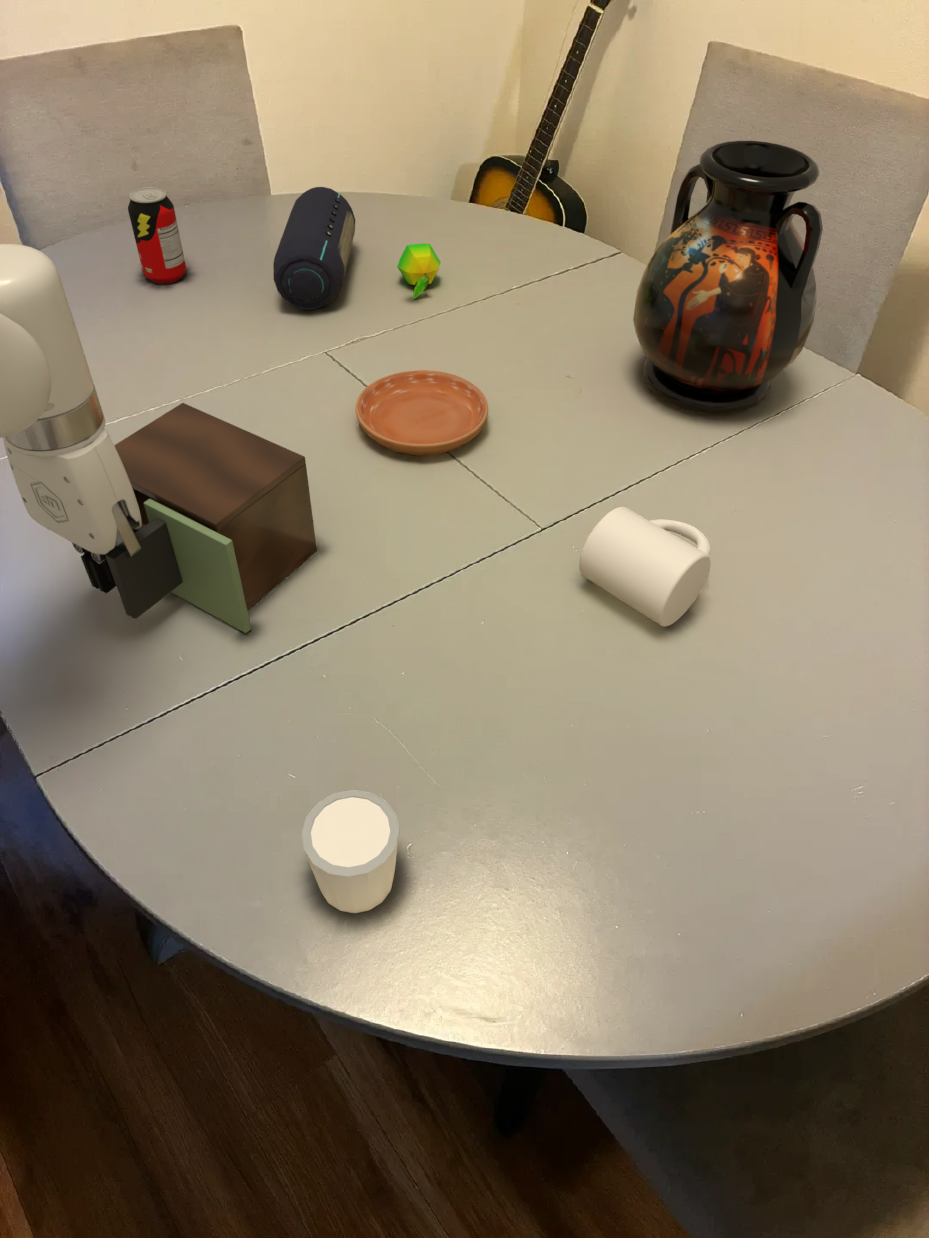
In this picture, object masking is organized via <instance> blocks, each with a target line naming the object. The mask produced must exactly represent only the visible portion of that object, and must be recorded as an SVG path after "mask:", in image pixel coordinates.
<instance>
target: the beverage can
mask: <svg viewBox="0 0 929 1238" xmlns="http://www.w3.org/2000/svg"><path fill="white" fill-rule="evenodd" d="M128 197H129V203H128V205H127V212H128V215H129V216H128V217H129V221H130V223H131V229H132V232H133V233H132V234H133V236H134V237H133V238H134V240H135V245H136V249H137V253H138V257H139V261H140V266H141V269H142V273H143V275H144V276H145V277H146V278H147V279H149V280H150V281H152V282H153V283H156V284H161V285H162V284H163V285H165V284H171V283H175V282H178V281H179V280H181V279H182V277H183V276H184V275H185V274H186V271H187V265H186V260H185V255H184V250H183V245H182V240H181V235H180V230H179V226H178V219H177V216H176V210H175V207H174V206H175V205H174V203H173V202H172V200H171V199H170V198H169V197H168V194H167V191H166V190H165V189H163V188H160V187H155V186H154V187H153V186H151V187H148V186H147V187H142V188H141V187H139V188H137V189H134V190H132V191H131V192H130V193H129V194H128Z"/></svg>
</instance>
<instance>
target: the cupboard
mask: <svg viewBox="0 0 929 1238" xmlns="http://www.w3.org/2000/svg"><path fill="white" fill-rule="evenodd" d="M114 446H115V448H116V450H117V452H118V454H119V456H120V459H121V461H122V463H123V466H124V468H125V470H126V473H127V476H128V478H129V481H130V483H131V486H132V488H133V491H134V494H135V497H136V500H137V503H138V506H139V510H140V514H141V520H142V526H141V528H143V527H144V526H145V525H147V524H148V523H149V520H148V516H147V513H146V510H145V507H144V502H145V501H147V500H148V499H152V500H153V501H155V502H157V503H159V504H161V505H163V506H165V507H167V508H169V509H171V510H173V511H175V512H177V513H179V514H181V515H183V516H185V517H187V518H189V519H191V520H193V521H195V522H197V523H199V524H201V525H203V526H205V527H207V528H209V529H211V530H213V531H215V532H217V533H219V534H221V535H223V536H225V537H227V538H229V539H231V540H232V542H233V547H234V552H235V556H236V561H237V565H238V570H239V575H240V579H241V584H242V588H243V593H244V598H245V602H246V607H247V611H249V610H251V608H253V607H254V606H255V605H257V603H259V602H260V601H261V600H262V599H263V598H264V597H265V596H266V595H268V594H269V593H270V592H271V591H272V590H274V589H275V588H276V587H277V586H278V585H280V584H281V582H283V581H284V580H285V579H287V577H288V576H290V575H291V574H293V572H294V571H295V570H297V569H298V568H299V567H300V566H301V565H302V564H304V563H305V562H306V561H307V560H309V558H311V557H312V556H313V555H314V554H315V553H317V551H318V547H317V540H316V532H315V524H314V516H313V509H312V501H311V493H310V485H309V484H310V483H309V477H308V469H307V461H306V457H305V456H304V455H302V454H300V453H297V452H295V451H293V450H291V449H289V448H286V447H284V446H282V445H279V444H277V443H275V442H273V441H270V440H268V439H267V438H264V437H261V436H259V435H257V434H255V433H252V432H251V431H248V430H246V429H244V428H241V427H239V426H236V425H234V424H232V423H230V422H227V421H225V420H224V419H221V418H218V417H216V416H214V415H212V414H210V413H207V412H205V411H202V410H200V409H198V408H196V407H194V406H192V405H189V404H187V403H185V402H181V403H180V404H178V405H177V406H175V407H174V408H172V409H170V410H168V411H167V412H165V413H164V414H162V415H160V416H159V417H157V418H156V419H154V420H152V421H151V422H149V423H147V424H146V425H144V426H143V427H141V428H139V429H138V430H136V431H134V432H133V433H131V434H130V435H127V437H125V438H123V439H122V440H120V441H118V442H117V443H116V444H114ZM132 530H133V532H134V533H136V532H137V531H138V530H135V529H132Z"/></svg>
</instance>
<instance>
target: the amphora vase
mask: <svg viewBox="0 0 929 1238" xmlns="http://www.w3.org/2000/svg"><path fill="white" fill-rule="evenodd" d="M819 176H820V169H819V165H818V164H817V162H816V161H815V160H814V159H813V158H812V157H811V156H809V155H808V154H806V153H805V152H803V151H800V150H798V149H796V148H793V147H790V146H787V145H783V144H779V143H774V142H768V141H761V140H730V141H725V142H724V141H723V142H720V143H716V144H714V145H712V146H710V147H708V148H706V149H705V150H704V151H703V152H702V153H701V155H700V156H699V163H698V164H695V165H693V166H692V167H691V168H689V170H688V171H687V173H686V174H685V175H684V176H683V178H682V179H681V183H680V186H679V189H678V192H677V196H676V202H675V207H674V212H673V217H672V223H671V228H670V232H669V233H670V234H669V236H667V238H665V240H664V241H663V242H662V243H660V245H659V247H658V248H657V249H656V250H655V252H654V253H653V254H652V256H651V257H650V260H649V262H648V263H647V265H646V267H645V269H644V271H643V273H642V276H641V279H640V282H639V285H638V288H637V290H636V296H635V303H634V311H633V318H632V321H633V326H634V331H635V335H636V337H637V340H638V342H639V345H640V347H641V349H642V352H643V353H644V355H645V356H646V359H644V361H643V367H642V376H643V379H644V381H645V384H646V385H647V387H648V388H649V389H650V390H651V391H652V393H653V394H654V395H655V396H657V397H658V398H659V399H662V400H663V401H664V402H666V403H668V404H669V405H671V406H674V407H676V408H678V409H682V410H684V411H688V412H692V413H694V414H695V413H697V414H701V415H711V416H719V415H720V416H721V415H722V416H723V415H725V416H727V415H733V414H738V413H739V414H740V413H743V412H745V411H748V410H750V409H753V408H755V407H756V406H758V405H760V404H761V403H762V402H763V401H764V400H765V399H766V398H767V395H768V393H769V391H770V389H771V386H772V385H771V380H773V379H774V378H775V377H776V376H778V375H779V374H781V372H783V371H784V370H786V369H787V368H788V367H789V366H790V365H791V364H793V362H795V360H796V359H797V358H798V356H799V355H800V354H801V353H802V351H803V349H804V346H805V345H806V343H807V340H808V338H809V336H810V332H811V329H812V327H813V324H814V323H815V322H814V321H815V314H816V306H817V281H816V275H815V269H814V264H815V261H816V258H817V255H818V251H819V249H820V245H821V240H822V236H823V230H824V229H823V228H824V227H823V221H822V214H821V212H820V210H819V209H818V208H817V206H816V205H815V204H812V203H810V202H807V201H806V202H805V201H798V202H794V203H793V204H791V202H792V200H793V197H794V195H795V192H800V191H803V190H805V189H807V188H810V186H812V185H814V184H815V183H816V181H817V179H818V178H819ZM700 178H701V179H702V180H703V181H704V185H705V187H706V191H707V192H706V199H705V201H706V202H705V204H704V205H703V206H702V207H701V208H700V209H699V210H697V212H695V213H694V214H692V215H691V216H690V215H689V214H690V208H691V201H692V195H693V192H694V189H695V187H696V184H697V181H698V180H699V179H700ZM796 215H797V216H799V217H801V218H802V219H803V222H804V223H805V236H804V241H803V239H802V237H801V235H800V234H799V232H798V230H797V228H796V227H795V224H794V223H793V218H794V217H795V216H796ZM689 216H690V217H689Z"/></svg>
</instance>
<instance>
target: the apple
mask: <svg viewBox="0 0 929 1238" xmlns="http://www.w3.org/2000/svg"><path fill="white" fill-rule="evenodd" d="M440 266H441V260H440V259H439V257H438V255H437V253H436V251H435V250H434V248H433V247H432V245H431V243H416V244H407V245H406V246H405V248H404V250H403V252H402V254H401V256H400V258H399V261H398V263H397V267H396V268H397V269H398V270H399V272H400V274H401V275H402V277H403V278H404V280H405V282H406V283H407V285H410V286H414V288H413V296H412V299H413V301H414V300H415V299H416V298H417V297H419V296H420V295H421V294H422V293H424V292H425V291H426V290H427V288H428V286H429V285H431V284H432V282H433V281H434V279H435V277H436V275H437V273H438V272H439V270H440Z"/></svg>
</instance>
